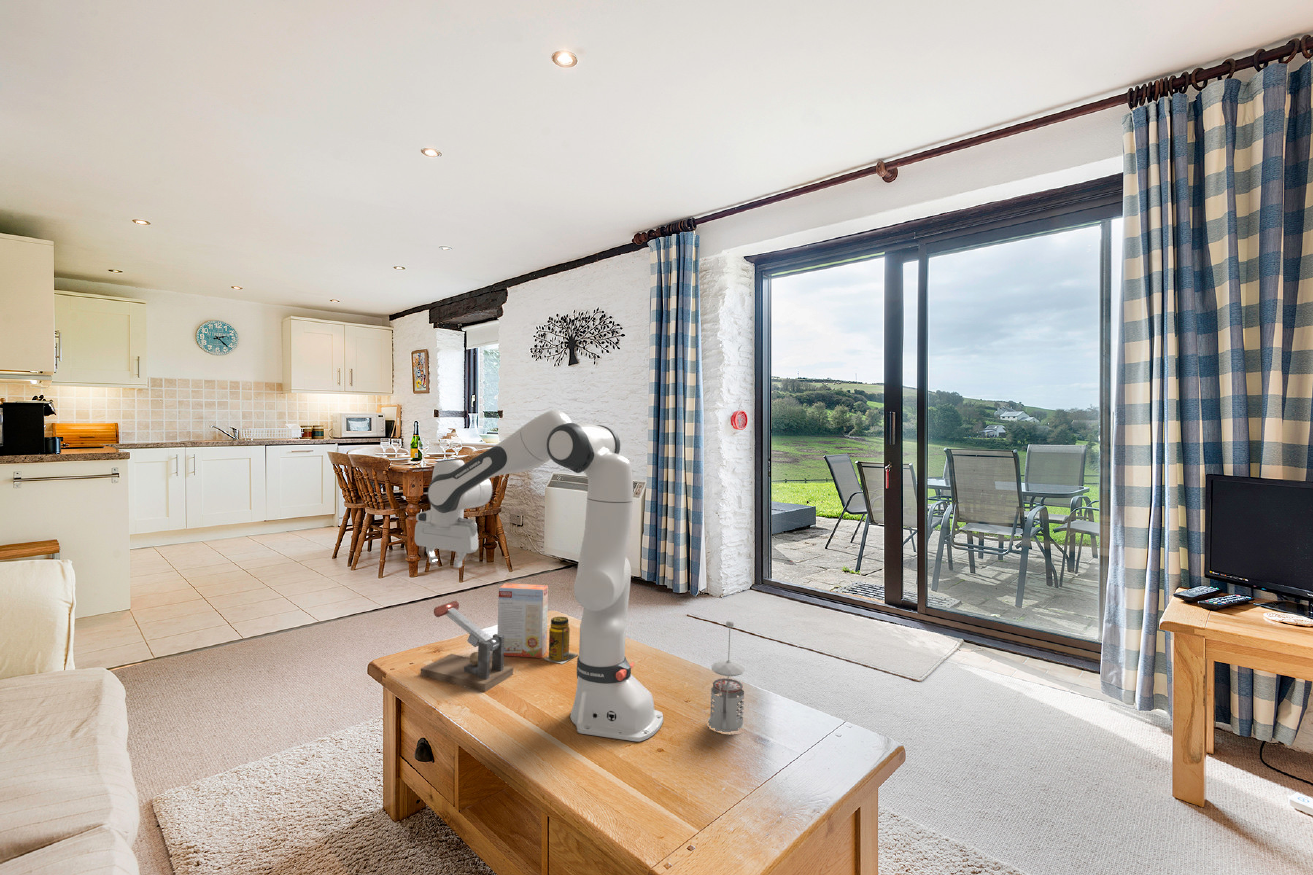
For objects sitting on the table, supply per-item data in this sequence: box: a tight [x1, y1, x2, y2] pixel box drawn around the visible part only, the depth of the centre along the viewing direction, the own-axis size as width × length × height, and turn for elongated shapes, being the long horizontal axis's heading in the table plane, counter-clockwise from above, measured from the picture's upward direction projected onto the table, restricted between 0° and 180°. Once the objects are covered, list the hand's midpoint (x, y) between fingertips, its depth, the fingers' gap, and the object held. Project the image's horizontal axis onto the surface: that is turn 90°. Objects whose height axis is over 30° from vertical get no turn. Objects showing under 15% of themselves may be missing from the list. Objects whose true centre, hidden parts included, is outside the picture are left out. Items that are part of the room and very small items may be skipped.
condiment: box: [543, 616, 579, 665], centre depth 180 cm, size 7×8×12 cm
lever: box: [433, 600, 501, 653], centre depth 165 cm, size 20×7×4 cm, turn 67°
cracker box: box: [497, 582, 549, 659], centre depth 182 cm, size 14×6×21 cm, turn 84°
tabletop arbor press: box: [420, 633, 514, 692], centre depth 165 cm, size 22×12×12 cm, turn 67°
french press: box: [707, 620, 746, 732], centre depth 141 cm, size 10×12×25 cm
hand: (445, 564), depth 168 cm, fingers open, 8 cm apart
